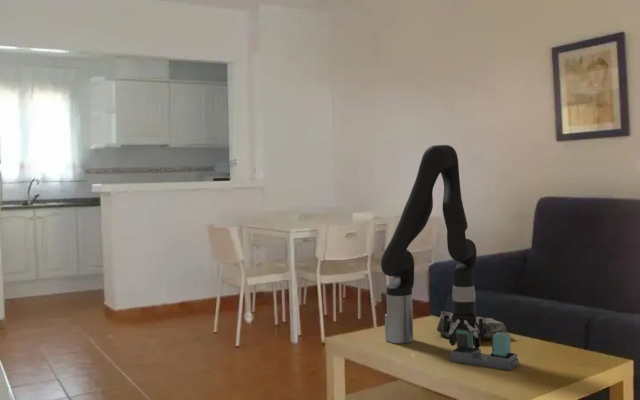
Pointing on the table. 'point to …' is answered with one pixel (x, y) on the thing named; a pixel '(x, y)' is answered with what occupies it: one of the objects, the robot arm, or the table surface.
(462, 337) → the block
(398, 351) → the table surface
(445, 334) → the stone
